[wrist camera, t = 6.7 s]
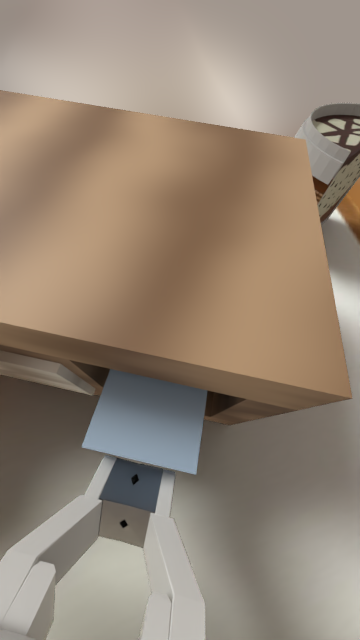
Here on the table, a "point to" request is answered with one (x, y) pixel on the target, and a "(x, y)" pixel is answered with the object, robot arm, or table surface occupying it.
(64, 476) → the table surface
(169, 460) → the light blue long block
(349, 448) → the table surface
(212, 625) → the table surface
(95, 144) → the box
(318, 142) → the food container
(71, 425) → the table surface
